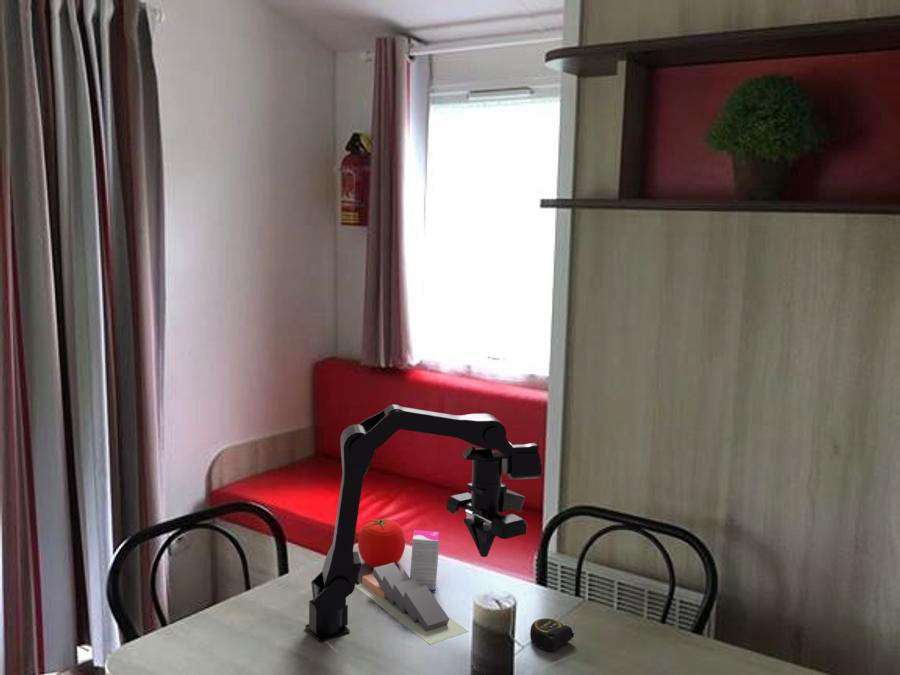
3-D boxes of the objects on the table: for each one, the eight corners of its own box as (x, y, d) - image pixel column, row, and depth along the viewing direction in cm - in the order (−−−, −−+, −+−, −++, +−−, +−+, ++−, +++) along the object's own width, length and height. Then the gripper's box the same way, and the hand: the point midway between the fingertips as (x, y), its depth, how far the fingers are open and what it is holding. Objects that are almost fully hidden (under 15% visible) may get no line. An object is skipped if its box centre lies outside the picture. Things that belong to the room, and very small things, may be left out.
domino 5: (428, 625, 153) (405, 591, 159) (426, 631, 154) (403, 597, 160) (449, 618, 156) (426, 585, 162) (447, 624, 157) (424, 591, 163)
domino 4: (416, 617, 156) (394, 584, 162) (414, 623, 157) (392, 589, 163) (437, 610, 159) (415, 578, 165) (435, 616, 160) (413, 583, 166)
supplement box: (436, 592, 170) (439, 540, 169) (408, 591, 170) (410, 539, 169) (437, 581, 176) (439, 530, 175) (410, 579, 176) (412, 529, 175)
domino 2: (393, 599, 163) (373, 567, 169) (392, 605, 164) (372, 573, 170) (414, 593, 166) (394, 562, 172) (412, 599, 167) (392, 567, 173)
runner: (429, 645, 149) (430, 644, 149) (354, 586, 172) (354, 585, 172) (468, 632, 154) (468, 631, 154) (389, 576, 178) (389, 575, 178)
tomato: (414, 566, 183) (415, 521, 182) (377, 579, 176) (378, 532, 175) (385, 552, 191) (386, 508, 189) (349, 564, 184) (349, 518, 182)
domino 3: (404, 608, 160) (383, 575, 166) (402, 614, 160) (382, 581, 166) (425, 602, 163) (404, 570, 169) (423, 607, 163) (402, 575, 169)
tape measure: (551, 658, 146) (552, 639, 146) (522, 643, 151) (523, 624, 151) (573, 645, 151) (574, 626, 151) (545, 631, 156) (546, 613, 155)
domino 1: (384, 592, 166) (362, 576, 173) (383, 599, 166) (362, 583, 174) (404, 586, 169) (382, 570, 176) (404, 593, 169) (382, 577, 176)
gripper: (550, 486, 153) (546, 564, 155) (489, 461, 168) (486, 532, 170) (505, 496, 147) (501, 577, 149) (445, 469, 162) (443, 543, 164)
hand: (484, 556), depth 158 cm, fingers closed
